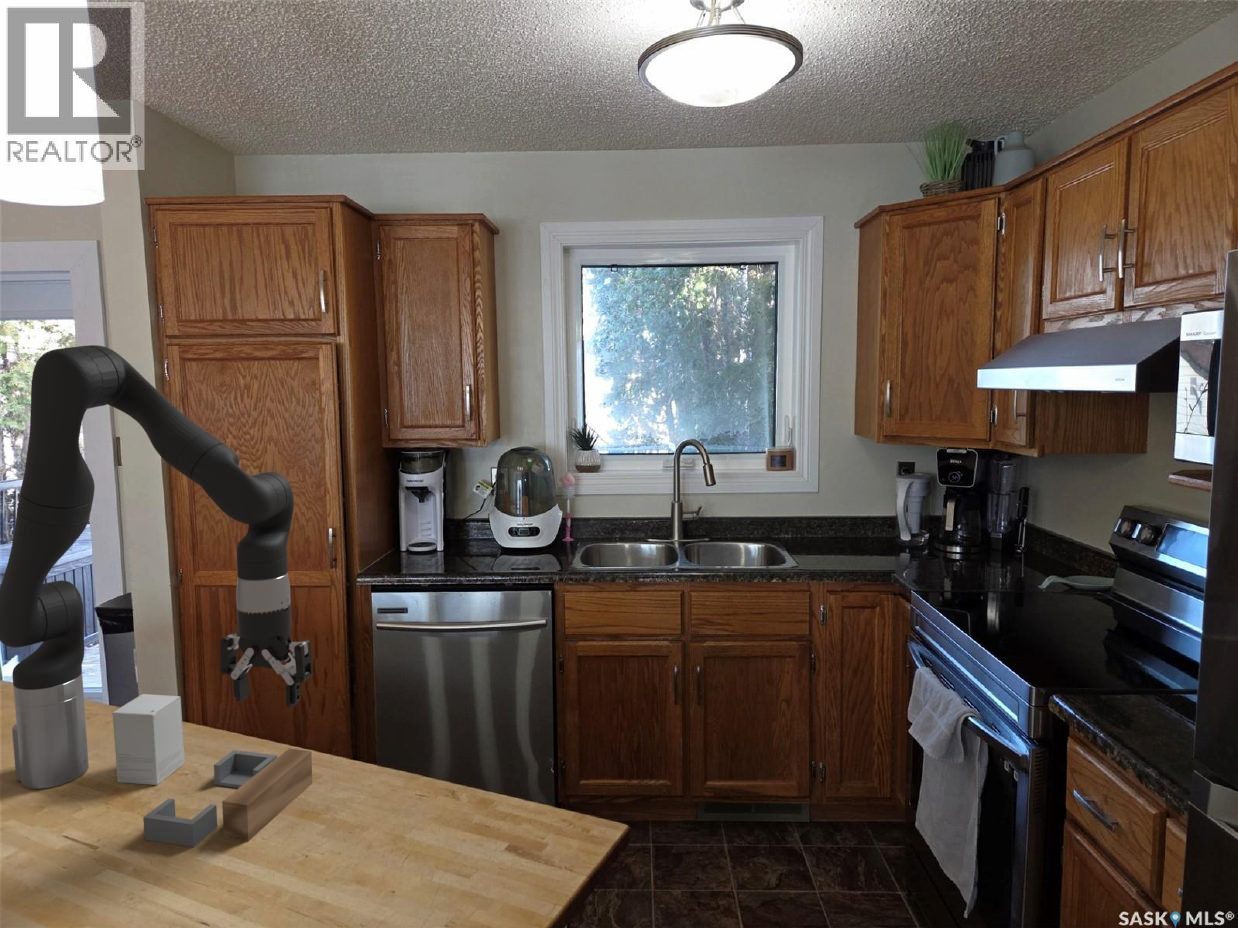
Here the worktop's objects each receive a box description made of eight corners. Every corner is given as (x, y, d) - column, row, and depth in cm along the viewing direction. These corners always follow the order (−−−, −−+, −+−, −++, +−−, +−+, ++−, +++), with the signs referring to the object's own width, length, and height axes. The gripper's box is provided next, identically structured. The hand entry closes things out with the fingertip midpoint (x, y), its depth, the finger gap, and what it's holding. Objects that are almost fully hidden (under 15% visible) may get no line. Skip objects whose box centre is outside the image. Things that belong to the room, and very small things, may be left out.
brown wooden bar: (223, 838, 113) (222, 801, 112) (290, 781, 129) (289, 748, 128) (248, 842, 112) (247, 804, 111) (312, 784, 128) (311, 751, 127)
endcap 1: (144, 839, 112) (143, 817, 111) (170, 819, 117) (168, 798, 116) (193, 847, 110) (192, 824, 110) (217, 826, 115) (216, 804, 115)
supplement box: (186, 763, 133) (182, 695, 131) (156, 786, 126) (152, 714, 124) (147, 759, 134) (143, 692, 132) (115, 782, 126) (110, 711, 125)
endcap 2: (277, 774, 130) (276, 755, 129) (259, 790, 125) (258, 770, 125) (234, 769, 131) (233, 749, 131) (214, 784, 126) (213, 764, 126)
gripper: (205, 606, 113) (210, 708, 116) (291, 614, 111) (295, 717, 113) (238, 592, 121) (242, 688, 123) (320, 598, 119) (322, 696, 121)
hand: (267, 702), depth 118 cm, fingers open, 8 cm apart
